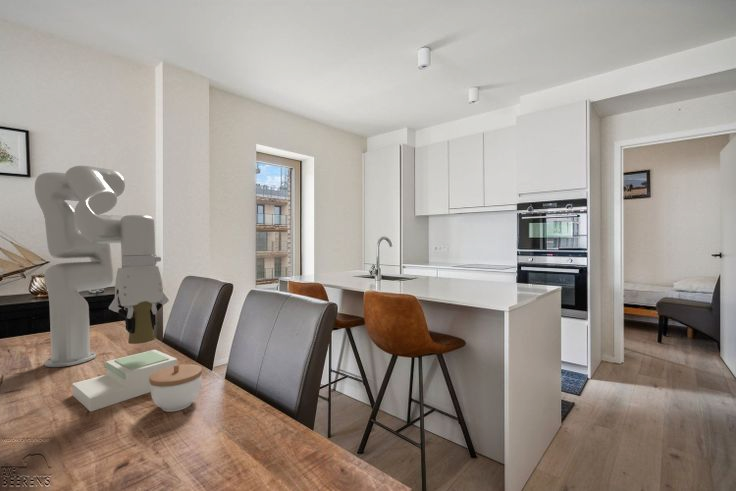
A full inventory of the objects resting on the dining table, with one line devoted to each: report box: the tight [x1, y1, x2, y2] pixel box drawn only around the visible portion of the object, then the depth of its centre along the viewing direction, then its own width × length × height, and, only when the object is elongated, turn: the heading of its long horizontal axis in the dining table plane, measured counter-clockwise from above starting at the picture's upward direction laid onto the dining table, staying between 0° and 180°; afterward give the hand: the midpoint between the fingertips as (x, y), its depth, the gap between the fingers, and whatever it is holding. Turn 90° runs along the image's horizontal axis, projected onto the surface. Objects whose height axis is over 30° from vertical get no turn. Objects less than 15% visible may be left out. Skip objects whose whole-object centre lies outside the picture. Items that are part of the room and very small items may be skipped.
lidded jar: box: [149, 363, 203, 413], centre depth 81 cm, size 11×11×9 cm
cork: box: [127, 301, 156, 345], centre depth 93 cm, size 6×6×11 cm
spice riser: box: [71, 349, 179, 412], centre depth 90 cm, size 14×19×7 cm
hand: (141, 330), depth 93 cm, fingers closed on cork, 3 cm apart
